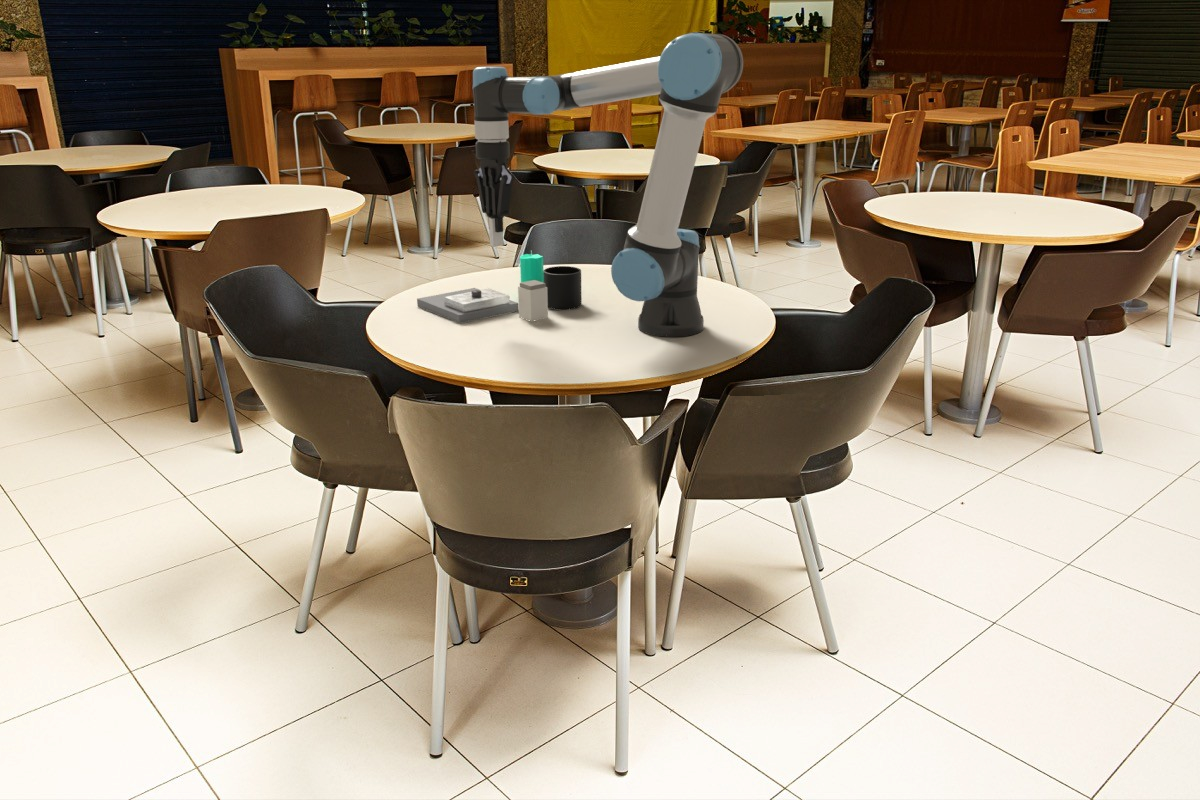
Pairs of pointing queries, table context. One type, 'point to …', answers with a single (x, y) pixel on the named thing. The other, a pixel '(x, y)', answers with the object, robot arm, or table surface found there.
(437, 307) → the grey flat frame
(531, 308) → the plug
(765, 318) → the table surface
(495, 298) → the panel
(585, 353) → the table surface
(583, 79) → the robot arm
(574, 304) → the mug
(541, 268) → the candle
